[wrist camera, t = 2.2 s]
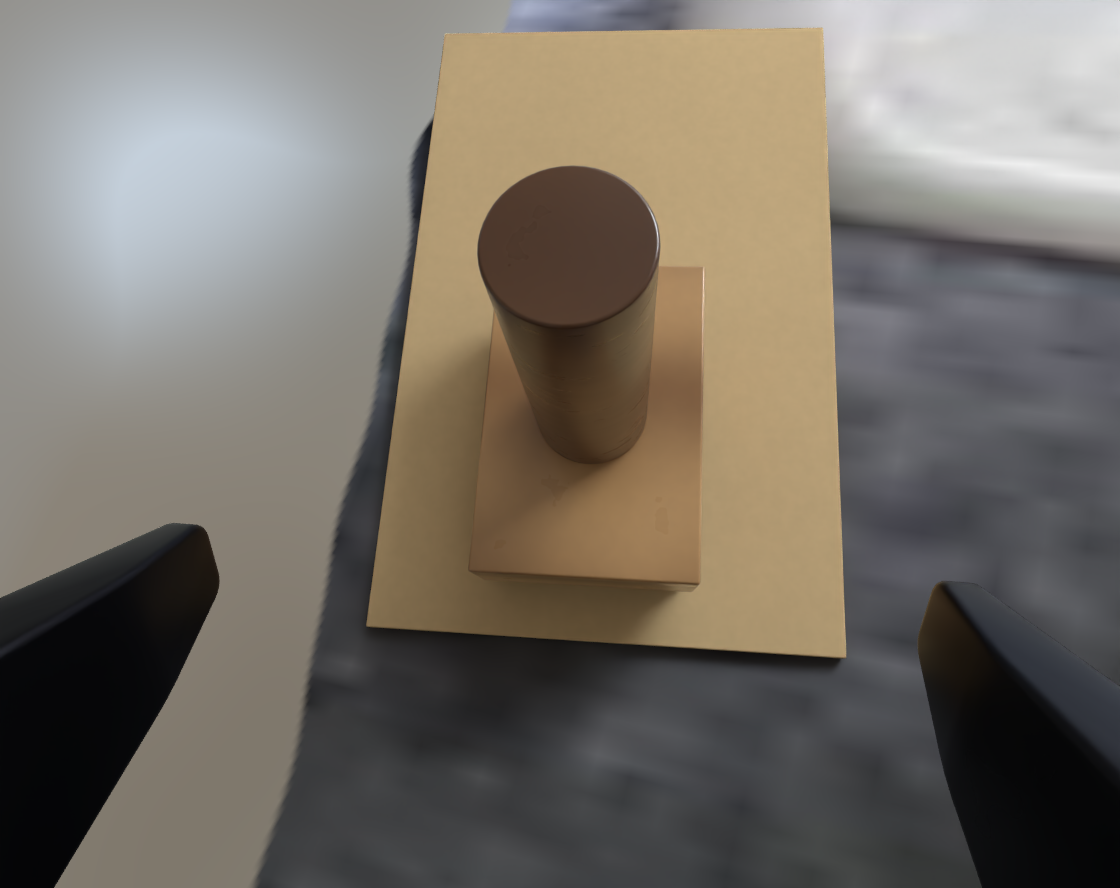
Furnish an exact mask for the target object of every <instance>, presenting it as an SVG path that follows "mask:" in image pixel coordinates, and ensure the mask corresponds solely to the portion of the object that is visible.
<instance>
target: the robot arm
mask: <svg viewBox="0 0 1120 888" xmlns="http://www.w3.org/2000/svg"><path fill="white" fill-rule="evenodd" d="M218 589H219V573H218V569H217V566H216V562H215V559H214V555H213V551H212V548H211V544H210V541H209V537H208V534H207V532H206V531H205V529H204V528H203V527H201V526H199V525H193V524H180V523H171V524H167V525H164V526H162V527H160V528H157V529H155V530H153V531H151V532H148V533H146V534H144V535H142V536H139V537H137V538H135V539H132V540H130V541H128V542H126V543H123V544H121V545H119V546H117V547H114V548H112V549H110V550H108V551H105V552H103V553H101V554H98V555H96V556H94V557H92V558H89V559H87V560H85V561H83V562H80V563H78V564H76V565H74V566H71V567H69V568H67V569H65V570H62V571H60V572H58V573H56V574H53V575H51V576H49V577H46V578H44V579H42V580H40V581H37V582H35V583H33V584H31V585H28V586H26V587H24V588H22V589H19V590H17V591H15V592H13V593H10V594H8V595H6V596H3V597H2V598H0V888H54V887H55V885H56V884H57V882H58V880H59V879H60V877H61V875H62V873H63V872H64V870H65V869H66V867H67V865H68V864H69V862H70V860H71V859H72V857H73V855H74V854H75V852H76V850H77V849H78V847H79V845H80V844H81V842H82V840H83V839H84V837H85V835H86V834H87V832H88V830H89V829H90V827H91V825H92V824H93V822H94V820H95V819H96V817H97V815H98V814H99V812H100V810H101V809H102V807H103V805H104V804H105V802H106V800H107V799H108V797H109V795H110V794H111V792H112V790H113V789H114V787H115V785H116V784H117V782H118V781H119V779H120V777H121V776H122V774H123V772H124V770H125V768H126V767H127V766H128V764H129V762H130V761H131V759H132V757H133V756H134V754H135V752H136V751H137V749H138V747H139V746H140V744H141V742H142V741H143V739H144V737H145V735H146V734H147V732H148V731H149V729H150V727H151V725H152V724H153V722H154V721H155V719H156V717H157V716H158V714H159V712H160V710H161V709H162V707H163V705H164V703H165V702H166V700H167V698H168V696H169V694H170V692H171V690H172V688H173V686H174V684H175V682H176V680H177V679H178V676H179V674H180V672H181V670H182V668H183V666H184V664H185V661H186V659H187V657H188V655H189V653H190V651H191V649H192V647H193V644H194V642H195V640H196V638H197V636H198V634H199V632H200V630H201V627H202V625H203V623H204V621H205V619H206V617H207V615H208V613H209V610H210V608H211V606H212V604H213V602H214V600H215V598H216V595H217V593H218ZM918 654H919V659H920V664H921V668H922V673H923V678H924V682H925V687H926V692H927V697H928V701H929V706H930V711H931V715H932V720H933V725H934V729H935V734H936V739H937V743H938V748H939V753H940V757H941V761H942V765H943V769H944V774H945V777H946V781H947V784H948V787H949V790H950V793H951V797H952V800H953V803H954V806H955V809H956V812H957V814H958V817H959V820H960V823H961V826H962V829H963V832H964V835H965V838H966V841H967V844H968V847H969V850H970V853H971V856H972V859H973V862H974V865H975V868H976V871H977V874H978V877H979V880H980V882H981V885H982V888H1120V686H1118V685H1117V684H1116V683H1114V682H1113V681H1112V680H1110V679H1109V678H1107V677H1106V676H1105V675H1103V674H1102V673H1100V672H1099V671H1098V670H1096V669H1095V668H1093V667H1092V666H1091V665H1089V664H1088V663H1086V662H1085V661H1084V660H1082V659H1081V658H1079V657H1078V656H1077V655H1075V654H1074V653H1072V652H1071V651H1070V650H1068V649H1067V648H1065V647H1064V646H1063V645H1061V644H1060V643H1059V642H1057V641H1056V640H1054V639H1053V638H1052V637H1050V636H1049V635H1047V634H1046V633H1045V632H1043V631H1042V630H1040V629H1039V628H1038V627H1036V626H1035V625H1033V624H1032V623H1031V622H1029V621H1028V620H1026V619H1025V618H1024V617H1022V616H1021V615H1019V614H1018V613H1017V612H1015V611H1014V610H1013V609H1011V608H1010V607H1008V606H1007V605H1006V604H1004V603H1003V602H1001V601H1000V600H999V599H997V598H996V597H994V596H993V595H992V594H990V593H989V592H987V591H986V590H985V589H983V588H982V587H980V586H979V585H977V584H974V583H965V582H952V581H941V582H939V583H937V584H936V585H935V587H934V588H933V590H932V593H931V596H930V599H929V602H928V606H927V609H926V612H925V615H924V618H923V622H922V625H921V628H920V631H919V636H918Z"/></svg>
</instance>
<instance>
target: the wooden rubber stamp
mask: <svg viewBox="0 0 1120 888" xmlns="http://www.w3.org/2000/svg"><path fill="white" fill-rule="evenodd" d="M660 247H661V245H660V233H659V227H658V224H657V221H656V218H655V215H654V213H653V211H652V209H651V208H650V206H649V204H648V203H647V202H646V200H645V199H644V197H643V196H642V195H641V194H640V193H639V192H638V191H637V190H636V189H635V188H634V187H633V186H631V185H630V184H629V183H628V182H626V181H625V180H623V179H621V178H620V177H618V176H616V175H614V174H612V173H609V172H607V171H604V170H601V169H597V168H593V167H587V166H574V165H572V166H559V167H553V168H548V169H545V170H541V171H538V172H536V173H533V174H531V175H529V176H527V177H525V178H523V179H521V180H520V181H518V182H517V183H515V184H514V185H512V186H511V187H510V188H508V189H507V190H506V191H505V192H504V193H503V194H502V195H501V196H500V197H499V198H498V199H497V201H496V202H495V203H494V204H493V206H492V207H491V209H490V210H489V212H488V214H487V216H486V218H485V220H484V222H483V224H482V227H481V230H480V233H479V239H478V244H477V258H478V266H479V270H480V274H481V277H482V279H483V282H484V285H485V287H486V290H487V293H488V295H489V298H490V300H491V303H492V306H493V308H494V311H493V321H492V331H491V341H490V351H489V361H488V371H487V382H486V392H485V402H484V412H483V422H482V432H481V442H480V452H479V463H478V473H477V483H476V493H475V503H474V513H473V523H472V533H471V544H470V554H469V564H468V571H469V572H471V573H473V574H475V575H477V576H478V577H480V578H482V579H484V580H493V581H510V582H527V583H544V584H561V585H577V586H594V587H611V588H628V589H645V590H662V591H679V592H693V591H694V590H695V589H696V588H697V587H698V586H699V585H700V582H701V517H702V448H703V379H704V311H705V268H704V267H703V266H659V259H660Z"/></svg>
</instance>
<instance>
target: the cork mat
mask: <svg viewBox="0 0 1120 888" xmlns="http://www.w3.org/2000/svg"><path fill="white" fill-rule="evenodd" d="M572 165H574V166H587V167H593V168H597V169H601V170H604V171H607V172H609V173H612V174H614V175H616V176H618V177H620V178H621V179H623V180H625V181H626V182H628V183H629V184H630V185H631V186H633V187H634V188H635V189H636V190H637V191H638V192H639V193H640V194H641V195H642V196H643V197H644V199H645V200H646V202H647V203H648V204H649V206H650V208H651V209H652V211H653V213H654V215H655V218H656V221H657V224H658V227H659V233H660V245H661V247H660V259H659V266H703V267H704V268H705V311H704V379H703V448H702V517H701V582H700V585H699V586H698V587H697V588H696V589H695V590H694V591H693V592H679V591H662V590H645V589H628V588H611V587H594V586H577V585H561V584H544V583H527V582H510V581H493V580H484V579H482V578H480V577H478V576H477V575H475V574H473V573H471V572H469V571H468V564H469V554H470V544H471V533H472V523H473V513H474V503H475V493H476V483H477V473H478V463H479V452H480V442H481V432H482V422H483V412H484V402H485V392H486V382H487V371H488V361H489V351H490V341H491V331H492V321H493V311H494V308H493V306H492V303H491V300H490V298H489V295H488V293H487V290H486V287H485V285H484V282H483V279H482V277H481V274H480V270H479V266H478V258H477V244H478V239H479V233H480V230H481V227H482V224H483V222H484V220H485V218H486V216H487V214H488V212H489V210H490V209H491V207H492V206H493V204H494V203H495V202H496V201H497V199H498V198H499V197H500V196H501V195H502V194H503V193H504V192H505V191H506V190H507V189H508V188H510V187H511V186H512V185H514V184H515V183H517V182H518V181H520V180H521V179H523V178H525V177H527V176H529V175H531V174H533V173H536V172H538V171H541V170H545V169H548V168H553V167H559V166H572ZM366 626H367V627H377V628H392V629H408V630H423V631H438V632H453V633H468V634H483V635H498V636H513V637H528V638H543V639H558V640H573V641H588V642H603V643H618V644H633V645H648V646H663V647H678V648H693V649H708V650H723V651H738V652H753V653H768V654H783V655H798V656H813V657H828V658H846V638H845V611H844V584H843V557H842V530H841V503H840V476H839V448H838V421H837V394H836V367H835V340H834V313H833V286H832V259H831V232H830V205H829V177H828V150H827V123H826V96H825V69H824V42H823V28H775V29H713V30H651V31H589V32H526V33H468V34H467V33H465V34H445V37H444V44H443V52H442V60H441V67H440V74H439V82H438V90H437V97H436V105H435V112H434V120H433V127H432V135H431V142H430V150H429V157H428V165H427V172H426V180H425V187H424V195H423V202H422V210H421V217H420V225H419V232H418V240H417V248H416V255H415V263H414V270H413V278H412V285H411V293H410V300H409V308H408V315H407V323H406V330H405V338H404V345H403V353H402V360H401V368H400V375H399V383H398V390H397V398H396V406H395V413H394V421H393V428H392V436H391V443H390V451H389V458H388V466H387V473H386V481H385V488H384V496H383V503H382V511H381V518H380V526H379V533H378V541H377V549H376V556H375V564H374V571H373V579H372V586H371V594H370V601H369V609H368V616H367V624H366Z"/></svg>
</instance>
